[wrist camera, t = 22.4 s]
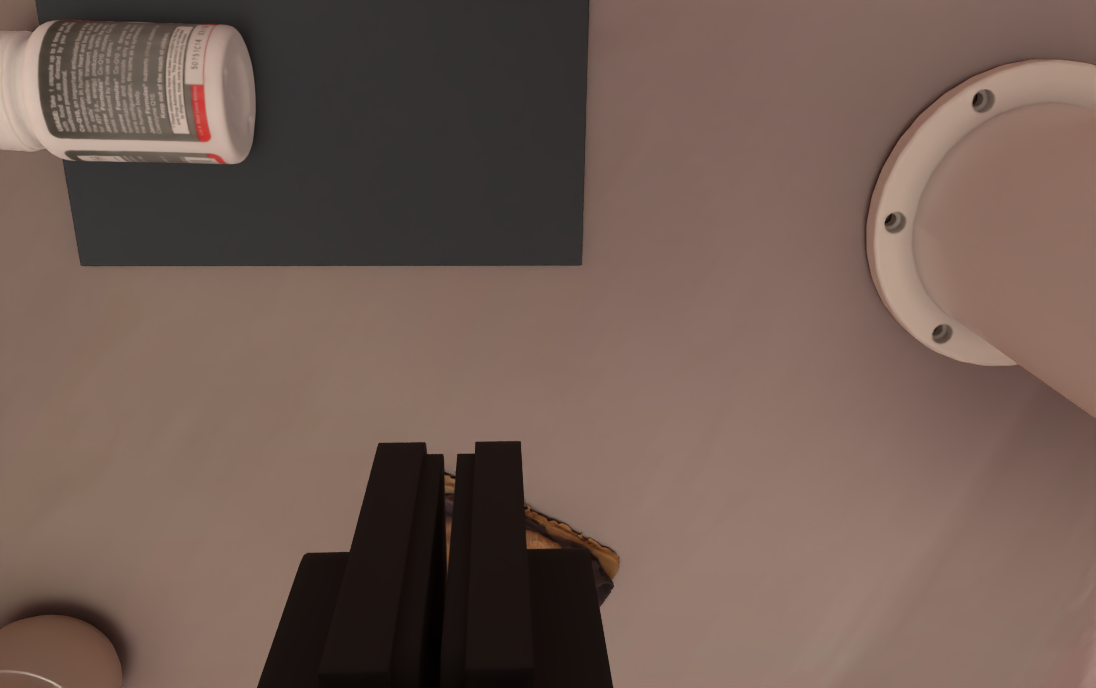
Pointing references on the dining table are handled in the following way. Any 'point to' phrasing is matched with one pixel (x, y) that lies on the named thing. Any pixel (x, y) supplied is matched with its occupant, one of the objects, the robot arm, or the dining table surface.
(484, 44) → the mat
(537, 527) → the bread roll
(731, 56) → the dining table surface
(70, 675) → the plastic bottle
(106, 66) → the pill bottle
